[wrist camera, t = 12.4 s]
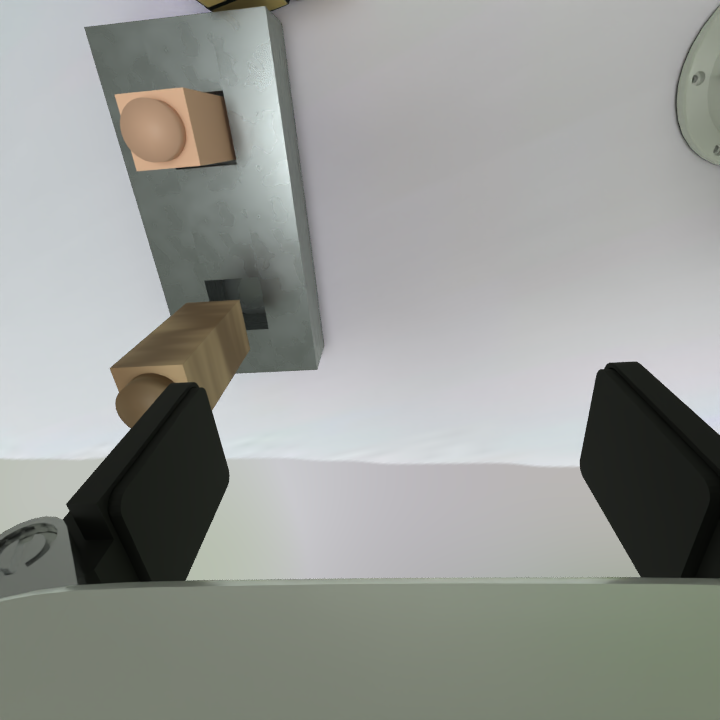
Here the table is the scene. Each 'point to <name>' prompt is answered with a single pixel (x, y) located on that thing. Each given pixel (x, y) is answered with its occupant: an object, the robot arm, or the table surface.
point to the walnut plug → (183, 356)
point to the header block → (225, 177)
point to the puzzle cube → (241, 4)
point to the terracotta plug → (175, 128)
